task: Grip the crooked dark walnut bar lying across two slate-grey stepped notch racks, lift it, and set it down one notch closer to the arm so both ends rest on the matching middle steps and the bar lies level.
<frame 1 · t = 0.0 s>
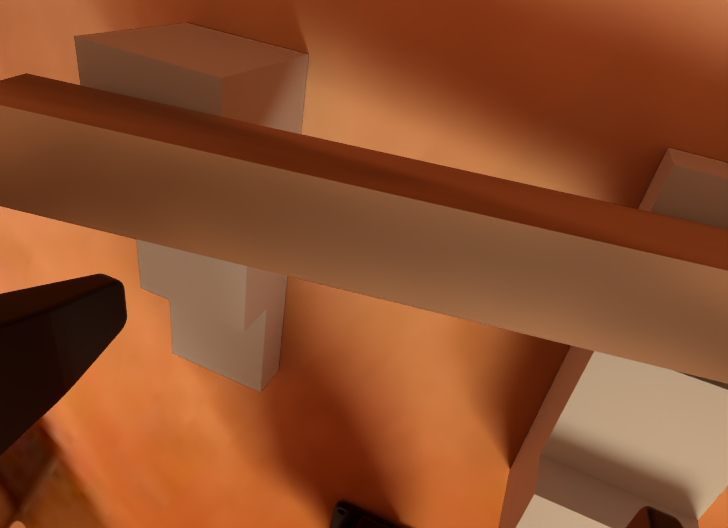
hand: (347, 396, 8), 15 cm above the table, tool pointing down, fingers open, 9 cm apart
walnut bar: (417, 211, 18), point 5 cm above the table, tilted 11°, touching notch rack 2, notch rack 1
notch rack 1: (643, 368, 22), on the table
notch rack 2: (239, 223, 27), on the table
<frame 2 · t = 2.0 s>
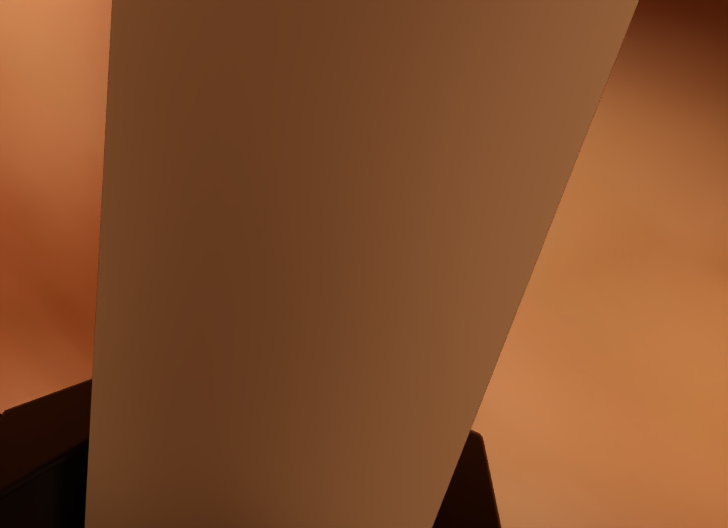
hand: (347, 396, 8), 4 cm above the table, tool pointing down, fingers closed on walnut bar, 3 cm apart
walnut bar: (332, 424, 8), point 5 cm above the table, tilted 11°, touching gripper, notch rack 2, notch rack 1
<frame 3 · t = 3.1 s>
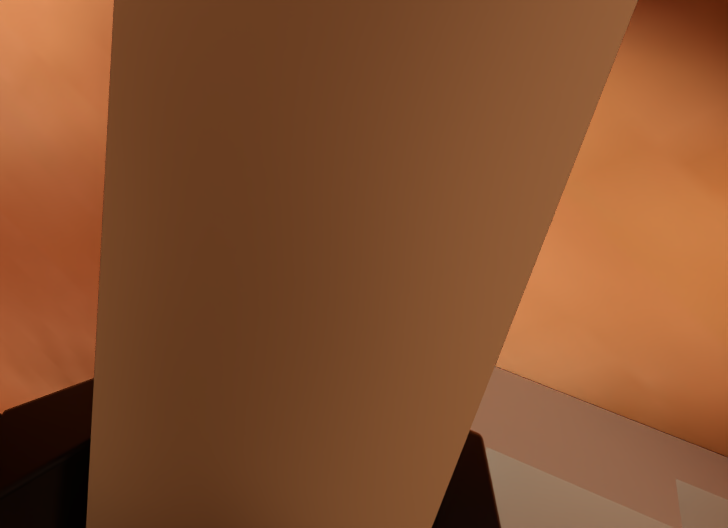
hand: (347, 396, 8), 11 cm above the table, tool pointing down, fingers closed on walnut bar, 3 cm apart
walnut bar: (332, 423, 8), point 11 cm above the table, tilted 11°, touching gripper
notch rack 2: (555, 452, 21), on the table
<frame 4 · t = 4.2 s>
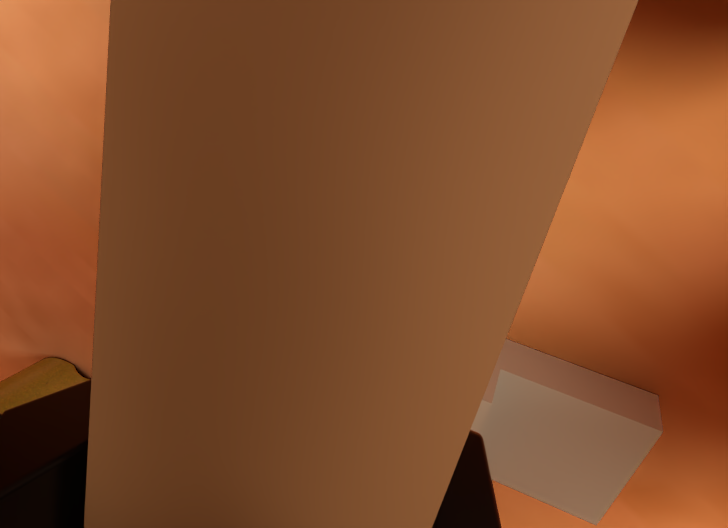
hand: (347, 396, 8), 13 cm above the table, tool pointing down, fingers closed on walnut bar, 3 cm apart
plant pot: (77, 388, 38), on the table
walnut bar: (332, 425, 8), point 13 cm above the table, tilted 11°, touching gripper
notch rack 2: (424, 364, 24), on the table
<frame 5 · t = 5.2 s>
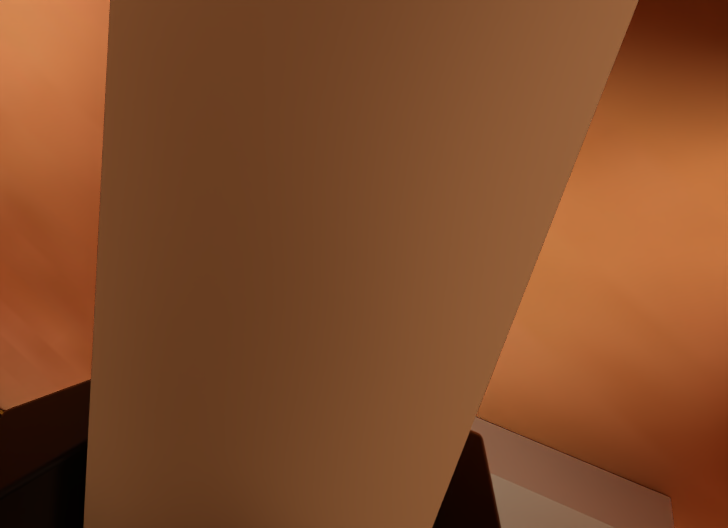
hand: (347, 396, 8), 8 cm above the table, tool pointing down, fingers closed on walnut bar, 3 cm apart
walnut bar: (331, 425, 8), point 8 cm above the table, tilted 11°, touching gripper
notch rack 2: (388, 441, 20), on the table
when the fingers open (6 cm above the table, at t = 6.2 s): walnut bar drops 3 cm, resting on notch rack 2, notch rack 1.
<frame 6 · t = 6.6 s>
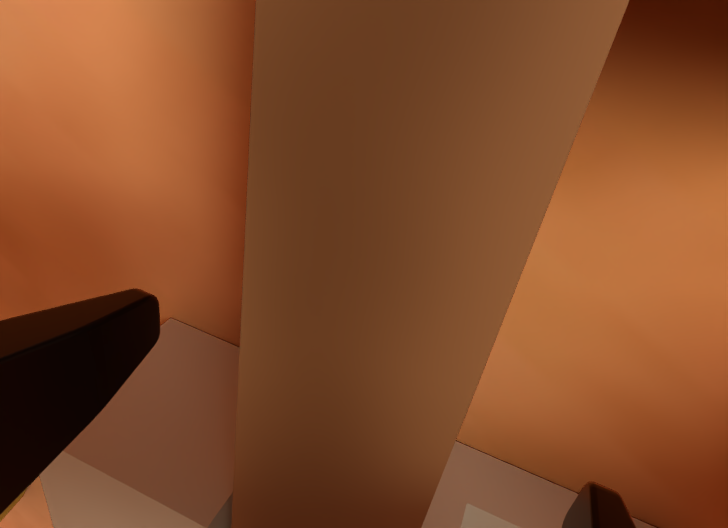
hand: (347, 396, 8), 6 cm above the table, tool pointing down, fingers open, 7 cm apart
walnut bar: (395, 330, 11), point 4 cm above the table, touching notch rack 2, notch rack 1
notch rack 2: (377, 469, 19), on the table
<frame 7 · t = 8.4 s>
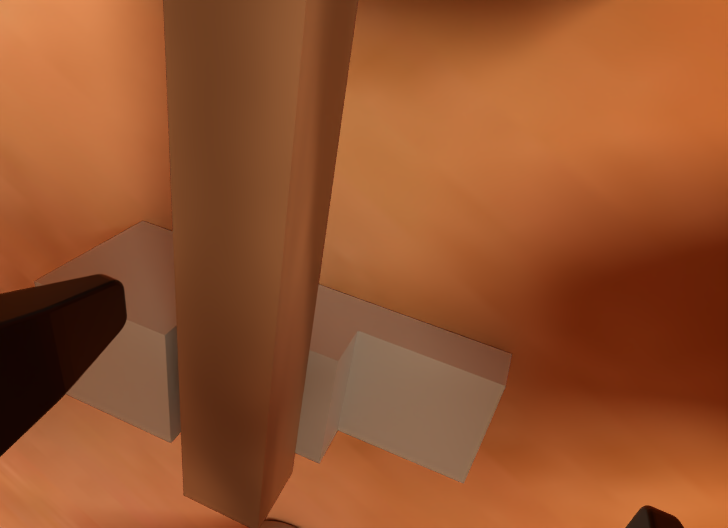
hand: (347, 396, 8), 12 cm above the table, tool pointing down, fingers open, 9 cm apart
walnut bar: (280, 172, 16), point 4 cm above the table, touching notch rack 2, notch rack 1
notch rack 2: (304, 333, 25), on the table
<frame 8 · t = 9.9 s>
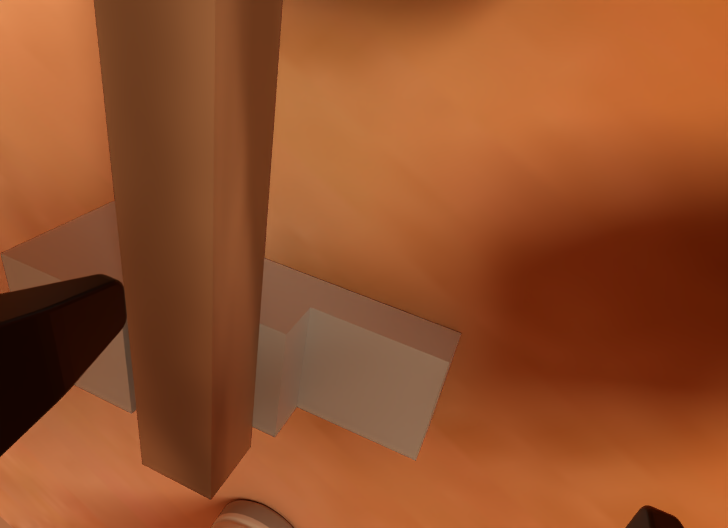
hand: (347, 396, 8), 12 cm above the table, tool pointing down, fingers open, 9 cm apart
walnut bar: (224, 147, 17), point 4 cm above the table, touching notch rack 2, notch rack 1
notch rack 2: (267, 312, 25), on the table
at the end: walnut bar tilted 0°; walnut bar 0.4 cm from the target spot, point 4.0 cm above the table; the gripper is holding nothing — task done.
